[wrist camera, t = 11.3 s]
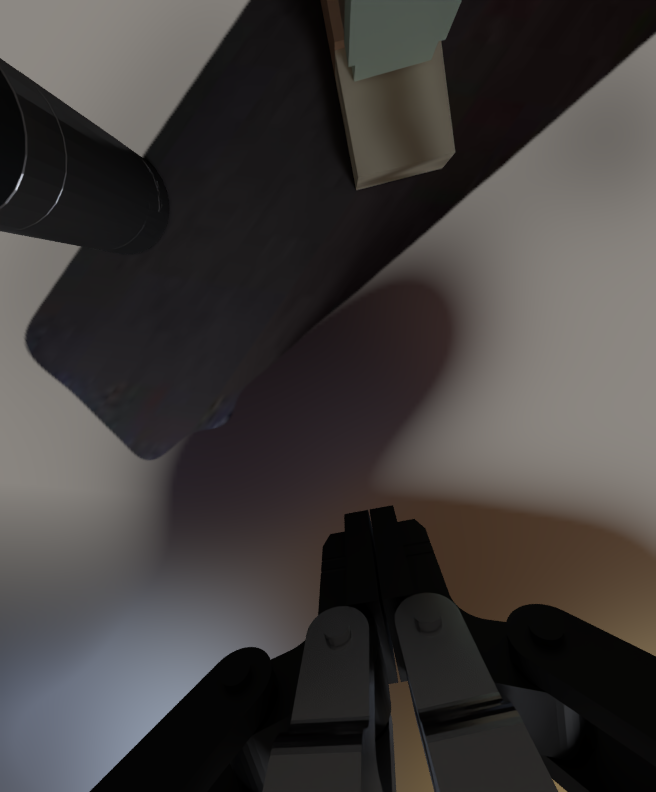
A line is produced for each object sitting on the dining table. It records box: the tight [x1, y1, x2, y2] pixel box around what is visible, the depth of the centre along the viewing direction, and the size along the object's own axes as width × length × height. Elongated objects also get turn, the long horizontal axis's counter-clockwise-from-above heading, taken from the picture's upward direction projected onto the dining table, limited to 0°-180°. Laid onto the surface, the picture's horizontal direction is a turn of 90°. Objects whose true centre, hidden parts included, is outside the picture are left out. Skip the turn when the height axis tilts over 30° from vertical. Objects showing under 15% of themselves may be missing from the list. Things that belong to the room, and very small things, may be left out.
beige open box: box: [335, 41, 455, 190], centre depth 32 cm, size 8×9×4 cm
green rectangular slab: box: [344, 0, 462, 82], centre depth 24 cm, size 7×2×10 cm, turn 103°
